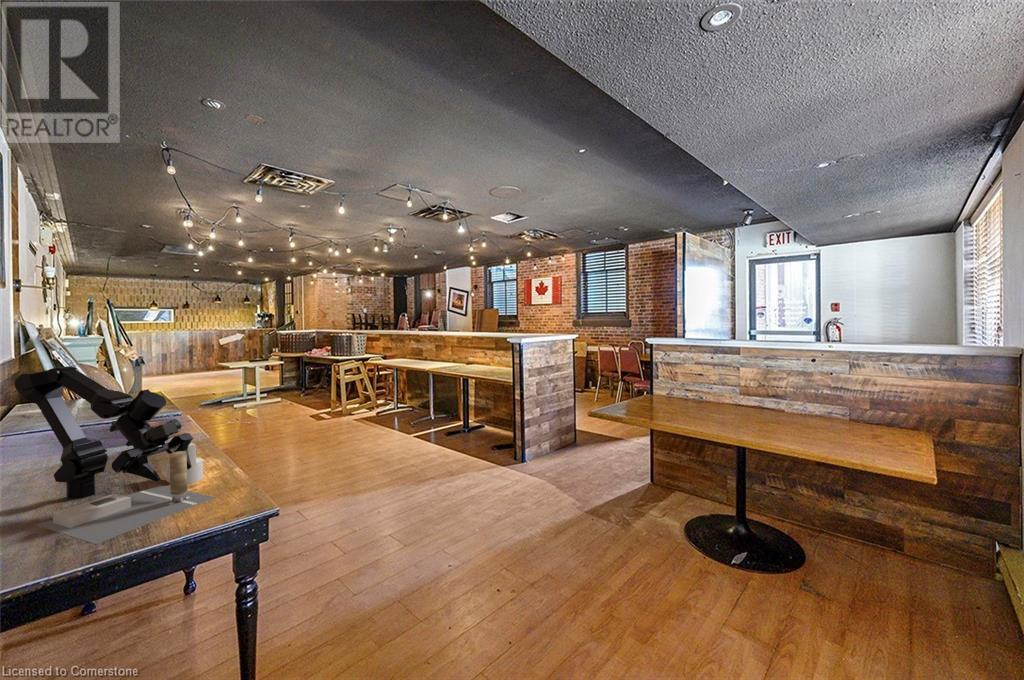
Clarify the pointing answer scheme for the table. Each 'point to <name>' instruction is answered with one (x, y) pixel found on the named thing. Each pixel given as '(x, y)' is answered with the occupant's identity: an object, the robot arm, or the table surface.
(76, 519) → the white flat block
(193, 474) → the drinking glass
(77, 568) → the table surface
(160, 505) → the floor panel
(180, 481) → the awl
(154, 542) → the table surface
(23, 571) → the table surface
